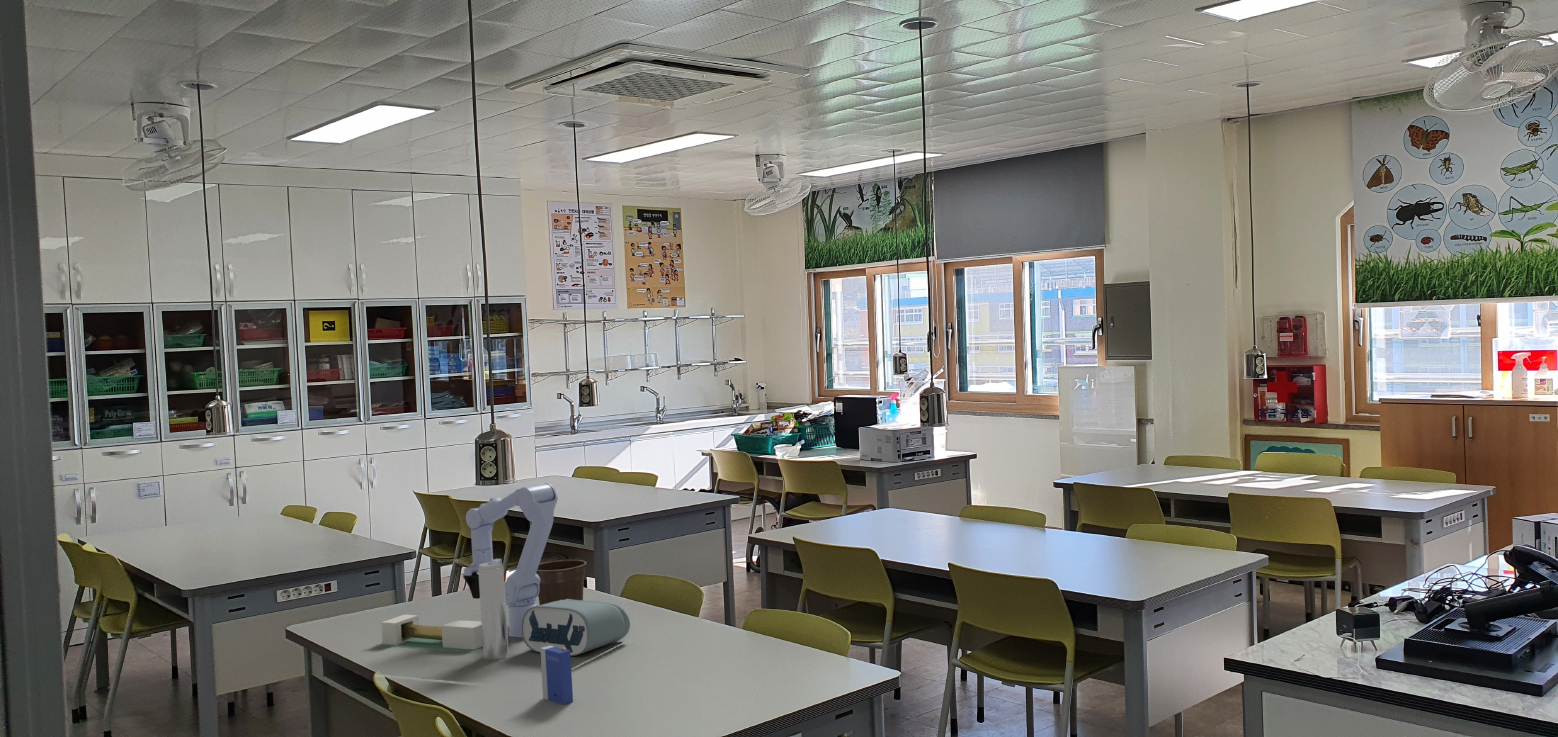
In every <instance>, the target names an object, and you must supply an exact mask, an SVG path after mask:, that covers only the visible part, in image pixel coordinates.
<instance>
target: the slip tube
mask: <svg viewBox="0 0 1558 737" xmlns="http://www.w3.org/2000/svg"><path fill="white" fill-rule="evenodd" d="M401 635H402V638H420V639H433V640H442V626H437V625H425V624H424V625H423V624H419V625H410V624H401Z"/></svg>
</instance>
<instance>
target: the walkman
mask: <svg viewBox="0 0 1558 737" xmlns="http://www.w3.org/2000/svg"><path fill="white" fill-rule="evenodd" d="M571 657H572V656H570V650H567V648H558V647H554V646H547V647H542V648H541V653H540V663H541V665H540V666H541V667H540V668H541V669H540V670H541V684H542V685H541V689H542V699H543V700H547V701H549V702H553V703H556V704H560V705H566V704H570V703H572V702H574V695H573V694H574V693H573V679H572V678H573V677H572V675H573V674H572V659H571Z"/></svg>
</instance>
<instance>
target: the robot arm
mask: <svg viewBox="0 0 1558 737" xmlns="http://www.w3.org/2000/svg"><path fill="white" fill-rule="evenodd" d="M558 500H559V498H558V495H557V492H556V489H555V487H554V486H553V485H552V484H551V483H548V482H546V483H543V484H537V485H533V486H523V487H521V488H518V489H515V490H514V491H513V492H512V493H510V494H508V495H506V496H505V497H503V498H501V497H496V496H494V497H490V498H489V501H487V502H486V503H481V504H480V505H479V507H476V508H473V507H472V508H469V510H468V511H467V512H466V514H465V521H466V524H467V527H469V528H470V536H471V538H470V539H471V553H472V554H471V555H472V563H470V566H468V567H465V568H463V575H462V578H463V579H464V581H465V582H466V583H467V586H468V587H469V591H470V593H471V597H472V599H477V600H479V599H480V589H479V572H478V568H479V565H480V564H483V563H488V562H500V563H501V565H503V564H502V563H503V562H502V558H495V559H494V553H493V535H492V532H493V530H494V523H495V522H496V521H497V520H500V519H501V518H503V517H505V516H506V515H507V514H508V513H509V510H510V509H512V508H515V507H519V509H520V510H521V512H522V513H523V515H524V517H525V518H526V520H527V521H529V522H531V525H530V528H529V531H528V534H527V537H526V540H525V543H524V545H523V548H522V552H521V555H520V558H519V561H518V564H517V567H516V569H515V570H514V572H512V573H511V574H510V575H508V576H507V578H506V581H505V582H504V585H505V602H506V607H507V610H508V625H509V626H508V627H509V629H508V630H509V632H507V637H514V638H515V637H517V638H523V636H522V619H523V616H524V614H525V612H526V611H527V610H528V609H530V608H532V607H536V606H539V605H540V604H537V603H535V602H536V601H537V597H538V594H539V590H540V589H539V584H540V581H541V579H540V577H539V576H538V575H537V574H536V572H537V569H538V566H539V564H540V562H541V559H542V557H543V554H544V552H545V549H546V545H547V542H548V539H549V536H550V533H551V530H552V527H553V524H554V515H555V508H556V505H557V502H558Z"/></svg>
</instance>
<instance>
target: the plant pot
mask: <svg viewBox="0 0 1558 737" xmlns="http://www.w3.org/2000/svg"><path fill="white" fill-rule="evenodd" d="M586 566H587V561H585V560H581V559H560V560H553V561H547V562H542V563H539V566H538V569H537V572H536V574H537V575H538V576H539V577H540V579H541V581H540V584H539V589H540V590H539V594H538V596H537V597H538V603H539V604H538V605H543V604H547V603H550V602H555V601H560V600H565V599H572V600H582V601H584V584H585V583H584V582H585V580H584V579H585V576H586V575H585V574H586Z"/></svg>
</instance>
